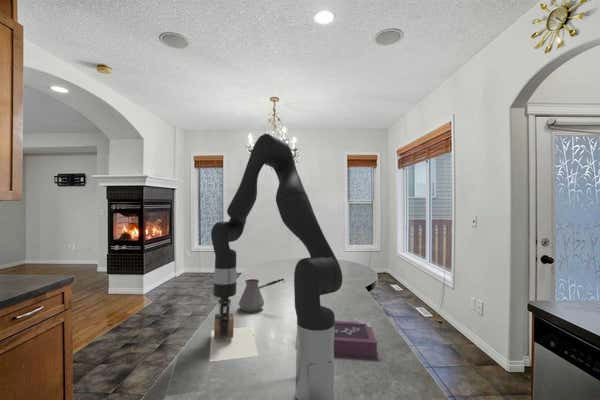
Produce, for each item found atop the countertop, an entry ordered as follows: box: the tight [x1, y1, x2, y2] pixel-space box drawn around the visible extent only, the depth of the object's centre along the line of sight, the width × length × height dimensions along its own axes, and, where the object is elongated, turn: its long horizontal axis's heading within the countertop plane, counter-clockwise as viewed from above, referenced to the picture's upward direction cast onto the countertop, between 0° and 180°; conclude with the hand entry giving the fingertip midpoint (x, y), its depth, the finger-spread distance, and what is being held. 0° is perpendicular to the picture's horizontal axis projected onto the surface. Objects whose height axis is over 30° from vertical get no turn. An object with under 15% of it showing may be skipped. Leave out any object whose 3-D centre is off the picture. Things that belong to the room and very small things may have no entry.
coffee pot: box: [238, 278, 286, 313], centre depth 127 cm, size 21×12×15 cm, turn 75°
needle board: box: [208, 326, 260, 363], centre depth 93 cm, size 22×14×10 cm, turn 16°
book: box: [295, 320, 378, 358], centre depth 97 cm, size 25×16×5 cm, turn 84°
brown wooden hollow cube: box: [213, 312, 235, 340], centre depth 95 cm, size 6×6×6 cm
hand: (223, 331), depth 95 cm, fingers closed on brown wooden hollow cube, 5 cm apart
